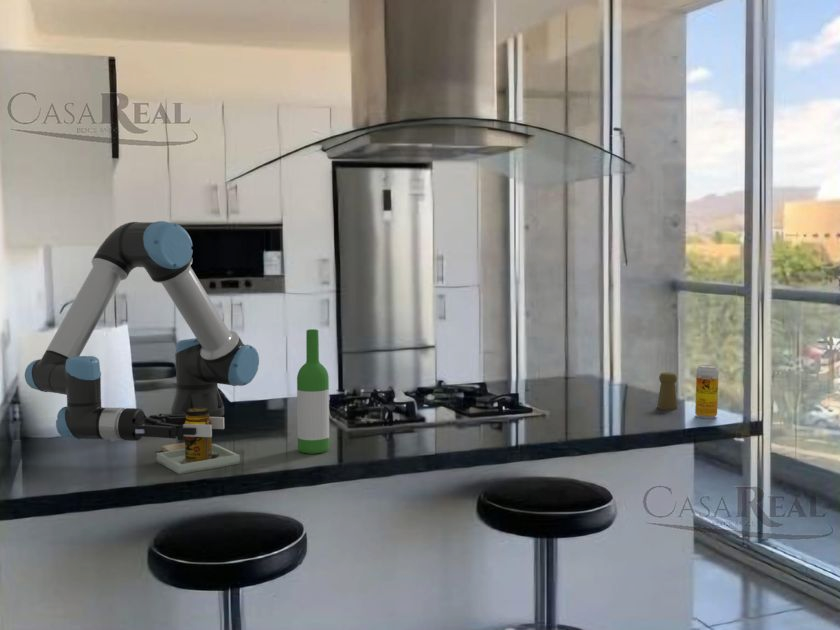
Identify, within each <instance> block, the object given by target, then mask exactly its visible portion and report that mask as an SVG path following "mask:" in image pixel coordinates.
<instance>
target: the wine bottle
mask: <svg viewBox="0 0 840 630" xmlns="http://www.w3.org/2000/svg"><path fill="white" fill-rule="evenodd" d="M305 332H306V341H305V342H306V346H305V347H306V350H305V351H306V361H305V363H303V365H302V366H300V368H299V370H298V372H297V376H296V402H297V403H296V406H297V407H296V412H297V413H296V415H297V416H296V417H297V420H296V421H297V425H296V426H297V427H296V428H297V448H298V451H299V452H301V453H302V454H306V455H307V454H308V455H309V454H310V455H312V454H315V455H316V454H322V453H325V452H327V451H328V450H329V447H330V388H329V385H330V384H329V383H330V380H329V373H328V370H327V369H326V367H325V366H324V365H323V364H322V363H321V361H320V358H319V357H320V352H319V348H320V347H319V346H320V345H319V341H320V340H319V338H320V337H319V330H318V329H315V328H313V329H306V331H305Z"/></svg>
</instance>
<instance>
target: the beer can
mask: <svg viewBox="0 0 840 630" xmlns="http://www.w3.org/2000/svg"><path fill="white" fill-rule="evenodd" d="M719 372H720V371H719V368H718V366H717V365H712V364H700V365H698V366H697V368H696V376H695V378H696V379H695V380H696V381H695V410H694V413H695V415H696V416H698V417H697V418H700V417H701V419H714V417H715V418H716V416H718V400H719V399H718V397H719V395H718V394H719Z"/></svg>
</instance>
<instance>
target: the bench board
mask: <svg viewBox="0 0 840 630" xmlns="http://www.w3.org/2000/svg"><path fill="white" fill-rule="evenodd" d="M160 447H161V449H160V451H162V452H167V451H173V450H179V449H185V442H180V443H179V442H178V443H173V444H172V443H171V444H166V445H161V446H160Z"/></svg>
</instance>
